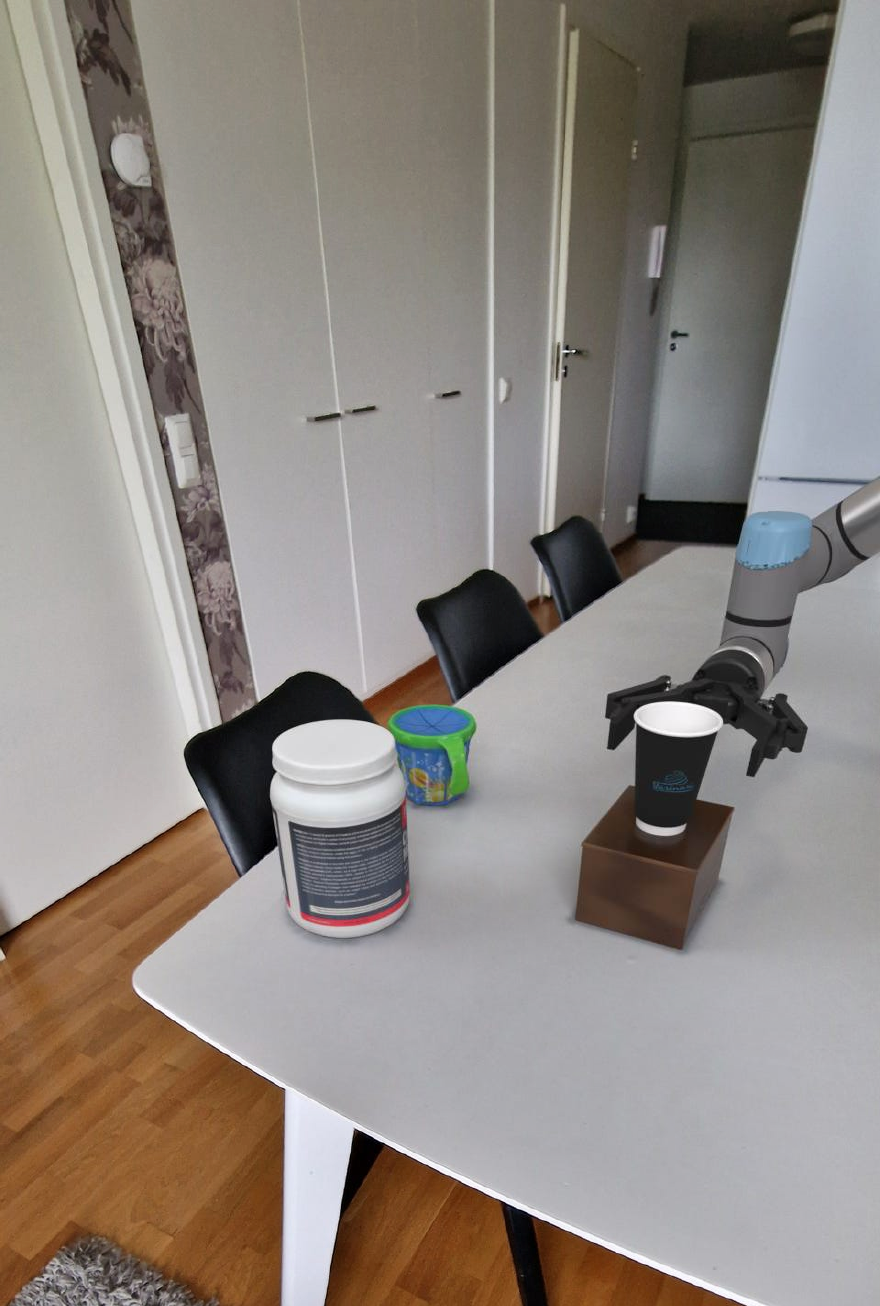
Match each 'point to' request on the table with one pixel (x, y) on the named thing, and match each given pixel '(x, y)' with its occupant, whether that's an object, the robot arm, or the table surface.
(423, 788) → the snack cup
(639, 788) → the dixie cup
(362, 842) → the supplement tub
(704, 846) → the brown box
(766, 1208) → the table surface
